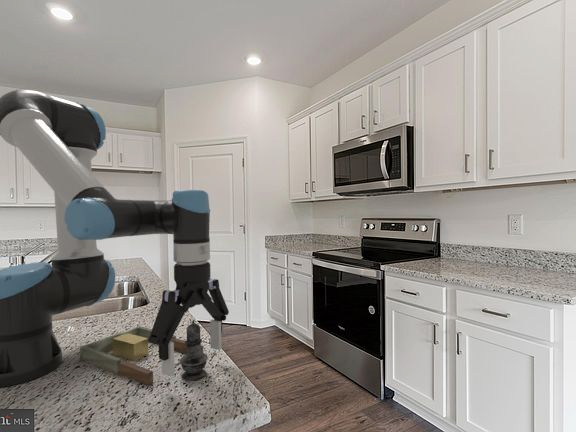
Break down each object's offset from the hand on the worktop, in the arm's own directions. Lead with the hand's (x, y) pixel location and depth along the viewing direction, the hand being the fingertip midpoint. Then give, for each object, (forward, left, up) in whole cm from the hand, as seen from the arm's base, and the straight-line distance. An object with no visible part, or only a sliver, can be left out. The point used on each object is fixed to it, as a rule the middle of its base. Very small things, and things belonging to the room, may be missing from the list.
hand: (194, 360), depth 70 cm
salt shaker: (0, 0, -3) cm, 3 cm away
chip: (0, +24, -3) cm, 24 cm away
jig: (0, +17, -3) cm, 18 cm away
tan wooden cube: (0, +20, -3) cm, 20 cm away
